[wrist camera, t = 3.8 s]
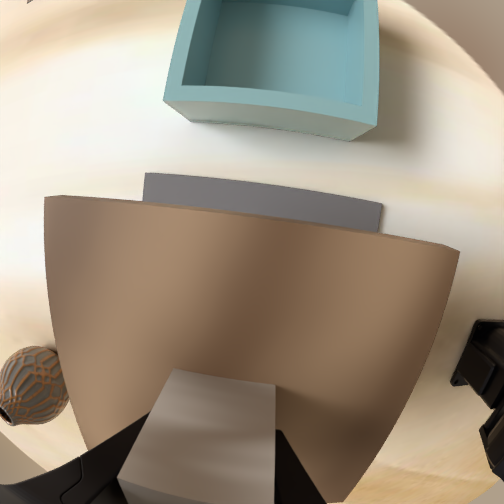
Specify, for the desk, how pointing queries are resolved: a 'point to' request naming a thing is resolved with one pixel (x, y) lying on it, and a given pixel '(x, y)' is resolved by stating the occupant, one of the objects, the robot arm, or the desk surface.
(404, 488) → the desk surface
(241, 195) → the mat
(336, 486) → the lid
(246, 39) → the dish
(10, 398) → the vase
